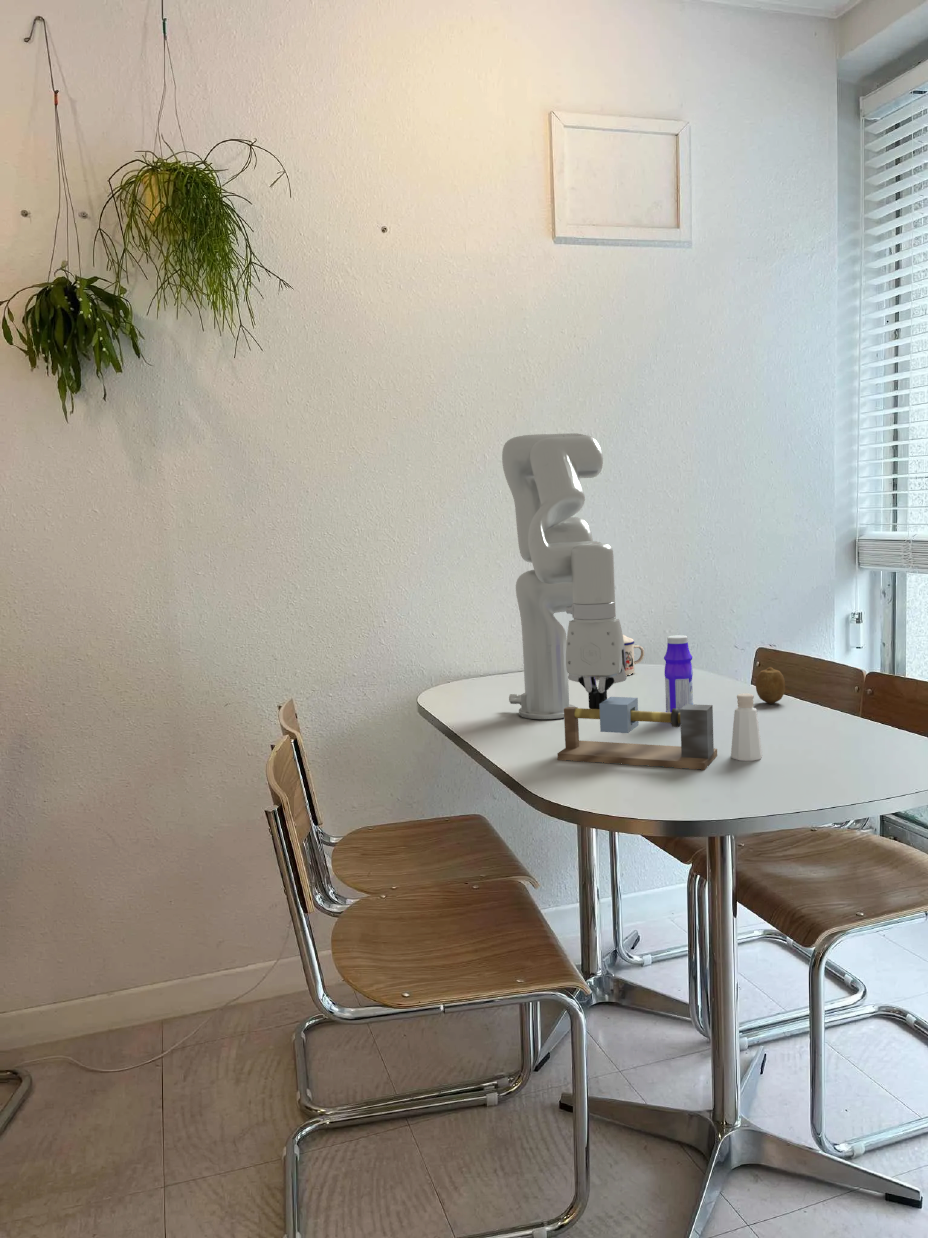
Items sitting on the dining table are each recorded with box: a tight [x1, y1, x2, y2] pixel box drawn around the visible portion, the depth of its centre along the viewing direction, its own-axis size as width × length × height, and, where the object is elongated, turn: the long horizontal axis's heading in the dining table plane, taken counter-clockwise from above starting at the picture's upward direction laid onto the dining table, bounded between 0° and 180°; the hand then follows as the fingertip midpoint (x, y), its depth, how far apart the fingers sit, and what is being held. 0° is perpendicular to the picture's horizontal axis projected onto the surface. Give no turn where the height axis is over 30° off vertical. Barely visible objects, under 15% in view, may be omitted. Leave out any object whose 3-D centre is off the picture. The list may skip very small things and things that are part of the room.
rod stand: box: [556, 703, 718, 771], centre depth 172 cm, size 26×10×10 cm, turn 64°
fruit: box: [755, 666, 786, 705], centre depth 211 cm, size 6×6×8 cm
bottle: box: [663, 634, 694, 712], centre depth 199 cm, size 7×6×17 cm
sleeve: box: [599, 696, 640, 734], centre depth 173 cm, size 5×6×5 cm
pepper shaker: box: [730, 692, 763, 762], centre depth 168 cm, size 5×5×11 cm
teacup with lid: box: [623, 634, 645, 675], centre depth 258 cm, size 12×9×12 cm
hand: (598, 712), depth 177 cm, fingers closed
